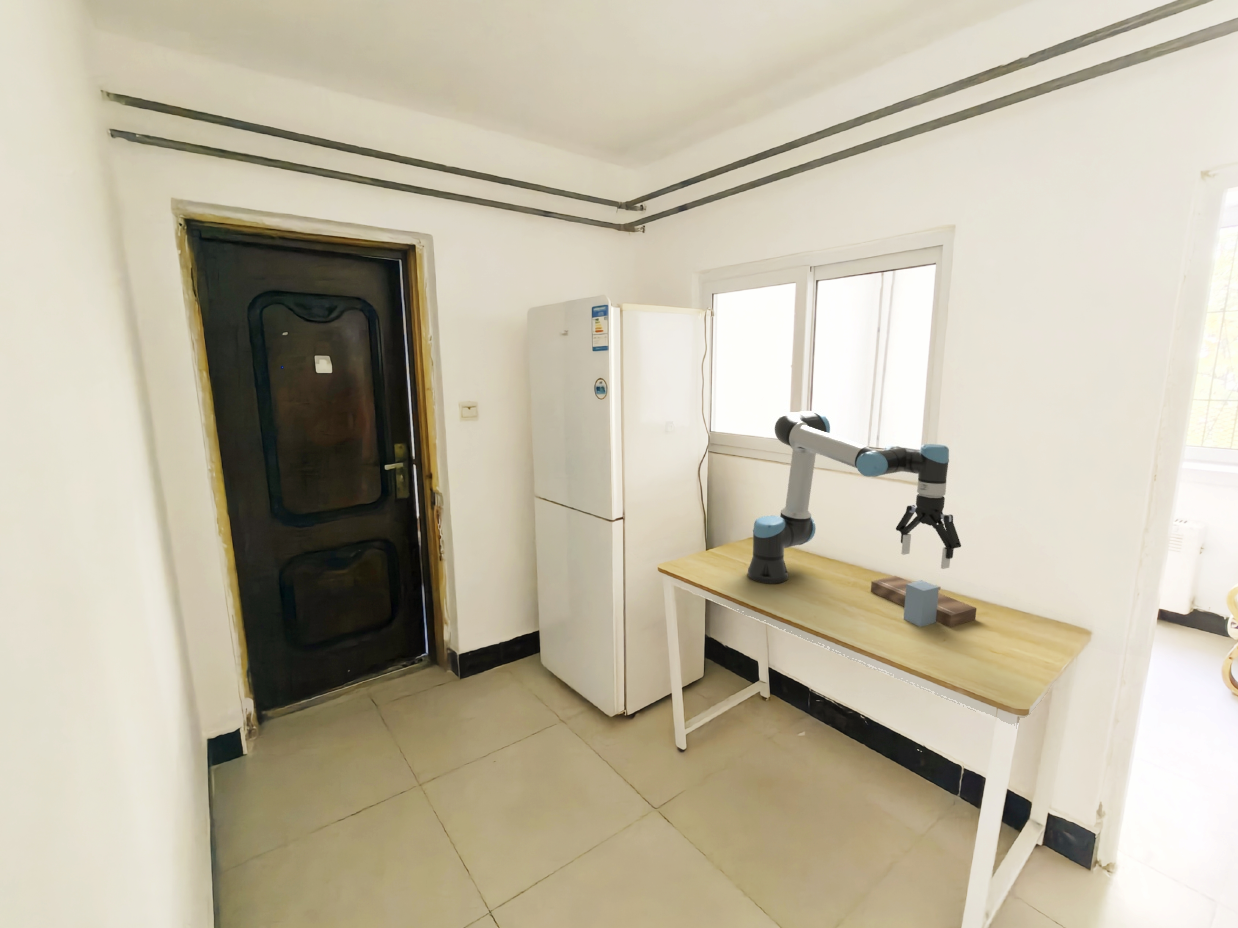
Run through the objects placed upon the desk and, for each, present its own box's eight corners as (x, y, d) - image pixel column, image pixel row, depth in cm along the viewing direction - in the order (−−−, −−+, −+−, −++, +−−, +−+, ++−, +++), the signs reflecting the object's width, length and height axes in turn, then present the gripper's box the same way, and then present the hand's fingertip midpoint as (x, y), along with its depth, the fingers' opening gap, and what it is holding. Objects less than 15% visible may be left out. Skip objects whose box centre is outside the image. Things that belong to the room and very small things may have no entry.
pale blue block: (903, 618, 172) (906, 583, 170) (927, 612, 176) (930, 578, 174) (920, 626, 166) (923, 590, 164) (944, 619, 170) (947, 584, 168)
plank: (870, 591, 193) (871, 580, 192) (894, 585, 197) (895, 575, 197) (950, 627, 166) (951, 614, 165) (975, 619, 170) (976, 607, 170)
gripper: (887, 488, 173) (882, 550, 177) (962, 505, 150) (954, 576, 154) (903, 485, 176) (898, 546, 180) (979, 502, 153) (971, 572, 157)
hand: (924, 560), depth 167 cm, fingers open, 13 cm apart
